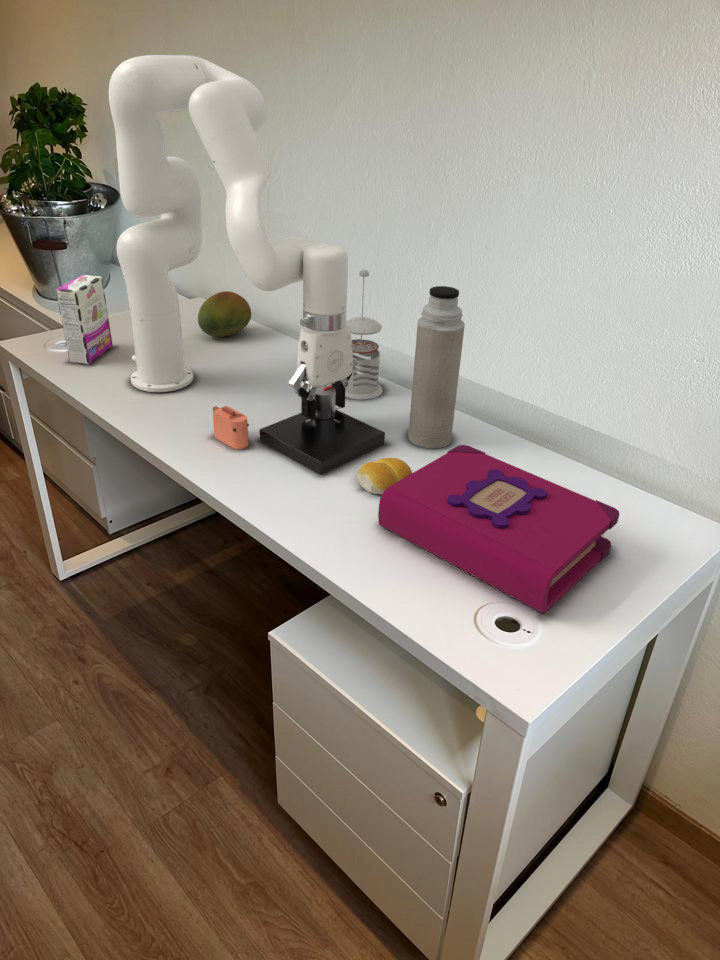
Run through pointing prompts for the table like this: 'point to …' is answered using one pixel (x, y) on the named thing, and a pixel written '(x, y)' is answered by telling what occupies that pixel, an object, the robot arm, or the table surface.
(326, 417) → the knob
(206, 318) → the fruit
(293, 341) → the table surface
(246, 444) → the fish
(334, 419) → the hot plate
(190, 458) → the table surface
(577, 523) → the book
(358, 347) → the french press
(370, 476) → the bread roll
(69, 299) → the candy bar box
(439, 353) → the thermos bottle
